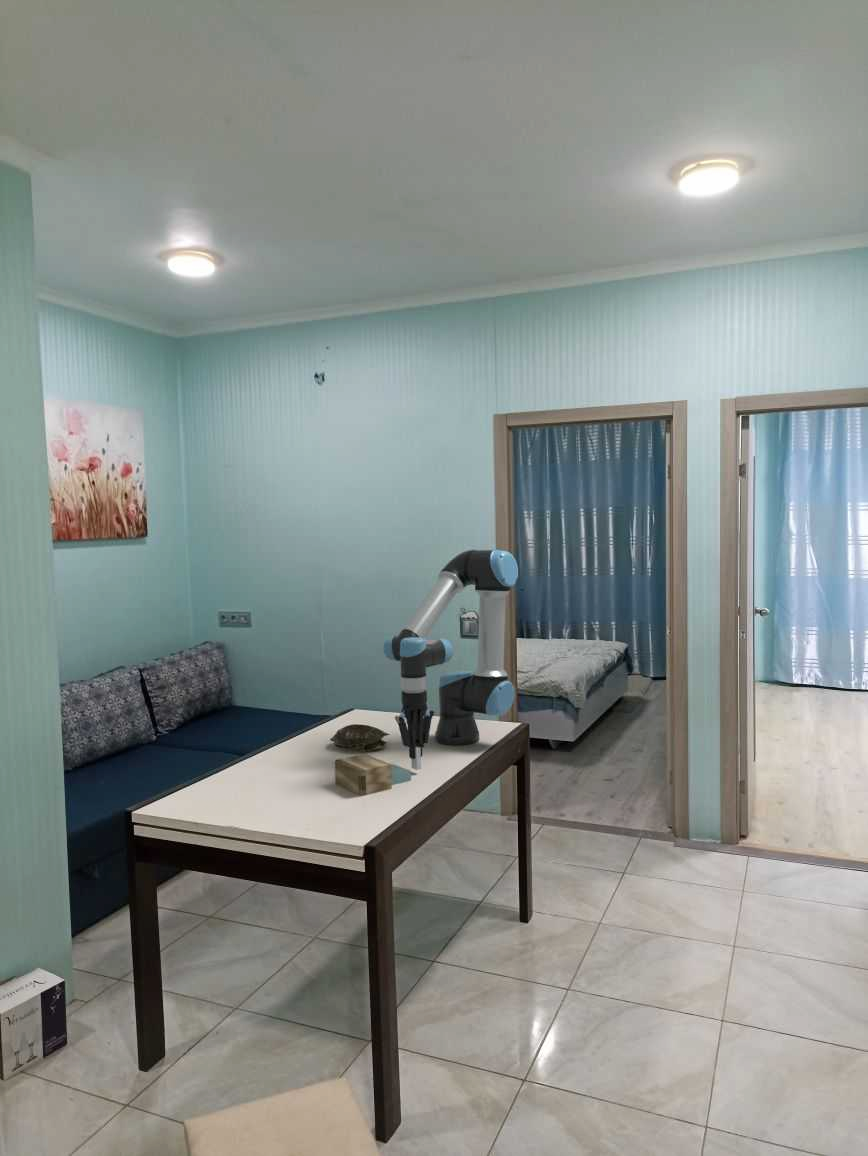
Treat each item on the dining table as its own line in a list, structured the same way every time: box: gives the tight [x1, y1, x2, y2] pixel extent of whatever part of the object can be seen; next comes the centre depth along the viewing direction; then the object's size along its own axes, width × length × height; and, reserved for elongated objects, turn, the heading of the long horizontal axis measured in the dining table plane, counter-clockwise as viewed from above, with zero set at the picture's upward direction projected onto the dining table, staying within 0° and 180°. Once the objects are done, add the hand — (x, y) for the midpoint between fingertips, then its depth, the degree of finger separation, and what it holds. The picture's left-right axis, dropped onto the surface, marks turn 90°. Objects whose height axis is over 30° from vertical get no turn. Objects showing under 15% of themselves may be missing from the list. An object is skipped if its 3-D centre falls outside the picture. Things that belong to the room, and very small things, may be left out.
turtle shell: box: [329, 723, 390, 752], centre depth 287 cm, size 16×9×20 cm
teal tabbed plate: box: [391, 763, 412, 786], centre depth 249 cm, size 14×9×3 cm, turn 127°
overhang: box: [334, 753, 393, 797], centre depth 245 cm, size 10×14×7 cm
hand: (416, 768), depth 256 cm, fingers closed
